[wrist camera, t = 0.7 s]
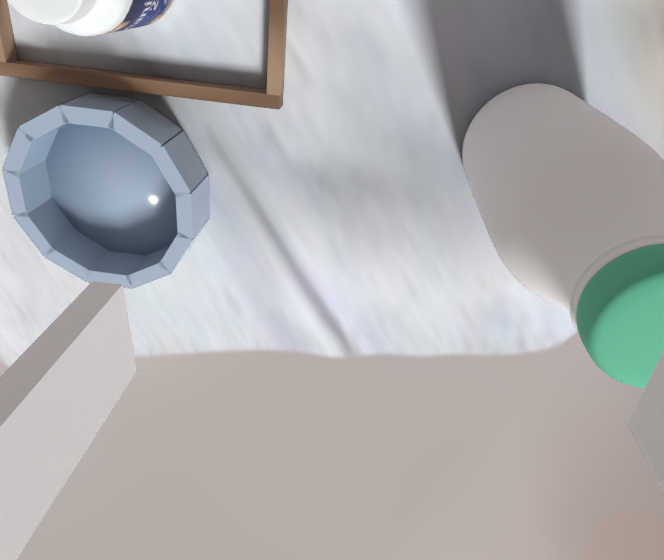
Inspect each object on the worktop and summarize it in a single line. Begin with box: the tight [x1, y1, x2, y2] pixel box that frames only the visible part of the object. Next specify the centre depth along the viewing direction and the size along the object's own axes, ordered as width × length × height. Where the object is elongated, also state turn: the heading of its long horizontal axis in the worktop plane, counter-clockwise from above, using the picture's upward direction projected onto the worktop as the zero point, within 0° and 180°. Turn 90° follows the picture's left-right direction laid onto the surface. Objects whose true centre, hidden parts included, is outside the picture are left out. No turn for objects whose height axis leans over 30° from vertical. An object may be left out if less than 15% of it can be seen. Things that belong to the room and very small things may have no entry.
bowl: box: [2, 93, 209, 288], centre depth 35 cm, size 12×12×4 cm
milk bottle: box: [462, 83, 664, 388], centre depth 24 cm, size 8×8×20 cm
